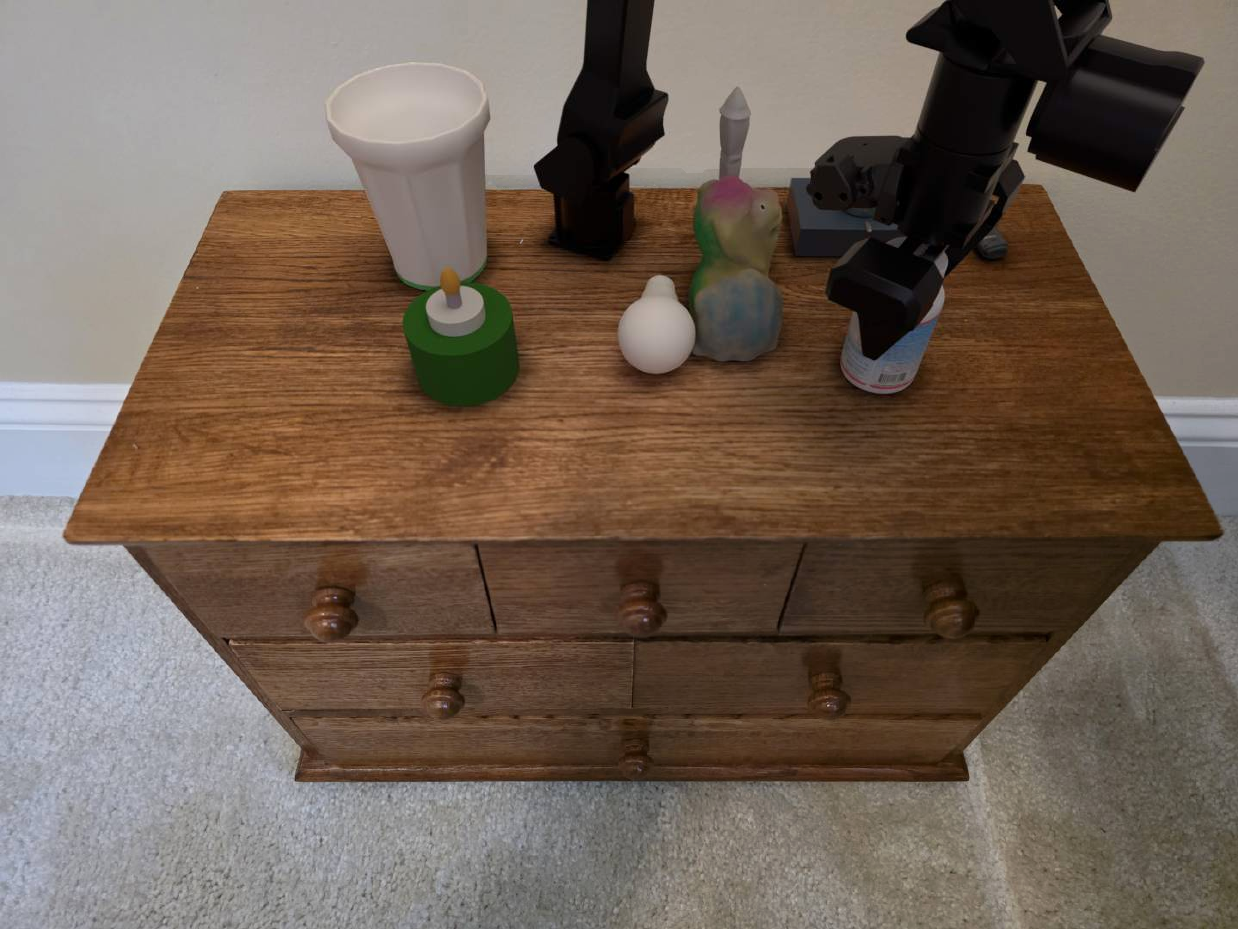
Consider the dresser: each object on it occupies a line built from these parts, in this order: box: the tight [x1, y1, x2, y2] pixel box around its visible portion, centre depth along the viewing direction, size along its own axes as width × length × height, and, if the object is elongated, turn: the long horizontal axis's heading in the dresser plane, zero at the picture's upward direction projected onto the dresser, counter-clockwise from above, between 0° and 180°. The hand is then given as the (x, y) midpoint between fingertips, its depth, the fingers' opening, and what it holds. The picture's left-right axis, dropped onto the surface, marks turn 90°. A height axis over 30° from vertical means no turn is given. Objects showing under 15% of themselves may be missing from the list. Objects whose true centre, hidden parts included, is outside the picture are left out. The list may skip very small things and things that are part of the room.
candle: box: [401, 268, 521, 407], centre depth 62 cm, size 8×8×10 cm
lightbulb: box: [617, 274, 695, 375], centre depth 65 cm, size 6×6×11 cm
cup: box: [324, 61, 491, 291], centre depth 68 cm, size 12×12×15 cm
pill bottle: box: [839, 237, 948, 395], centre depth 61 cm, size 6×6×11 cm
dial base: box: [785, 177, 907, 258], centre depth 75 cm, size 12×9×3 cm
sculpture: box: [688, 174, 784, 363], centre depth 66 cm, size 15×8×10 cm, turn 3°
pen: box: [718, 85, 752, 180], centre depth 71 cm, size 2×3×14 cm
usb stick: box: [975, 226, 1009, 260], centre depth 76 cm, size 10×3×2 cm, turn 9°
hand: (896, 323), depth 62 cm, fingers open, 9 cm apart
